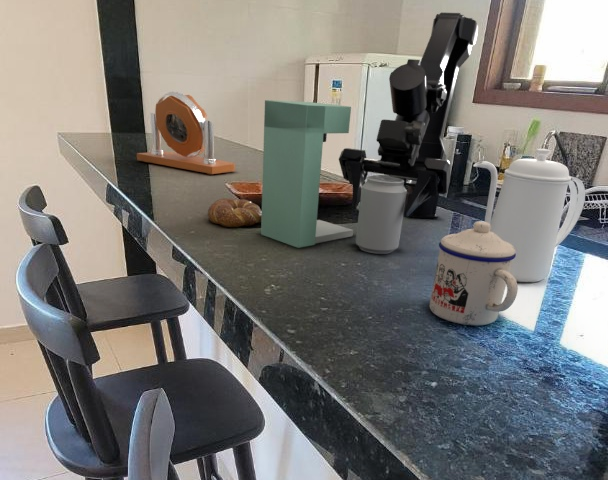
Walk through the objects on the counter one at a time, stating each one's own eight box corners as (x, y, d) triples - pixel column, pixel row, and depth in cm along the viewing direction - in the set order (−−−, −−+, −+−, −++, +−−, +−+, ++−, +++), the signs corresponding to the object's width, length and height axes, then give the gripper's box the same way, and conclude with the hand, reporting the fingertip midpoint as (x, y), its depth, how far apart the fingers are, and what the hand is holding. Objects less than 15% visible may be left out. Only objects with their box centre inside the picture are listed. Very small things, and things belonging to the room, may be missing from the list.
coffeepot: (427, 269, 84) (450, 142, 76) (536, 257, 95) (567, 145, 86) (475, 292, 76) (508, 153, 67) (589, 276, 87) (629, 154, 78)
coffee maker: (317, 225, 105) (326, 102, 95) (354, 236, 99) (369, 107, 89) (260, 234, 96) (264, 100, 86) (298, 248, 90) (307, 105, 80)
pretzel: (252, 231, 98) (253, 211, 96) (196, 224, 99) (196, 204, 98) (269, 218, 108) (270, 199, 106) (218, 212, 110) (218, 193, 108)
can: (396, 257, 89) (407, 183, 83) (352, 252, 90) (360, 178, 85) (398, 246, 96) (409, 176, 90) (357, 241, 97) (365, 172, 91)
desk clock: (210, 176, 148) (209, 95, 138) (135, 161, 161) (130, 87, 152) (238, 172, 157) (239, 96, 148) (165, 158, 171) (161, 88, 161)
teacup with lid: (413, 303, 70) (428, 215, 65) (467, 297, 74) (486, 212, 69) (472, 341, 61) (496, 241, 55) (531, 332, 64) (559, 237, 59)
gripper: (348, 96, 88) (317, 172, 84) (461, 105, 82) (433, 188, 78) (358, 143, 98) (331, 214, 95) (459, 155, 92) (434, 231, 88)
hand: (379, 211), depth 89 cm, fingers open, 9 cm apart
